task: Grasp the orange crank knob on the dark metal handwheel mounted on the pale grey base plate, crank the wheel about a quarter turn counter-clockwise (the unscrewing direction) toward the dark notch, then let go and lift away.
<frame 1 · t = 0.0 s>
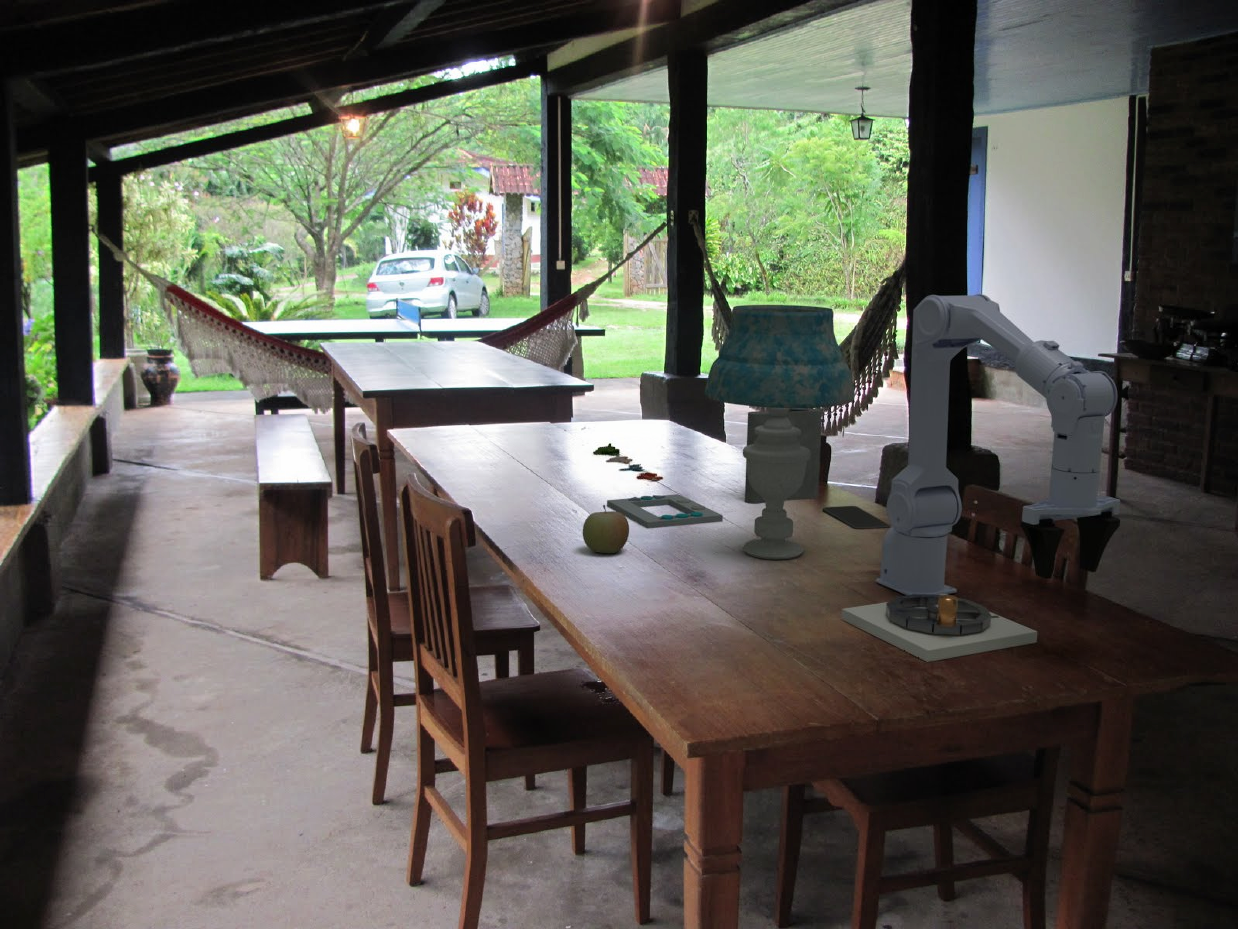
hand: (1065, 573, 157), 10 cm above the table, tool pointing down, fingers open, 7 cm apart
handwheel: (939, 601, 164), point 4 cm above the table, hinge at -30.0°
smartphone: (855, 521, 226), on the table
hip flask: (780, 500, 241), on the table
table lamp: (772, 553, 202), on the table
toy spaceship set: (625, 469, 272), on the table
picture frame: (663, 518, 228), on the table
fruit: (606, 553, 201), on the table
base plate: (936, 630, 165), on the table
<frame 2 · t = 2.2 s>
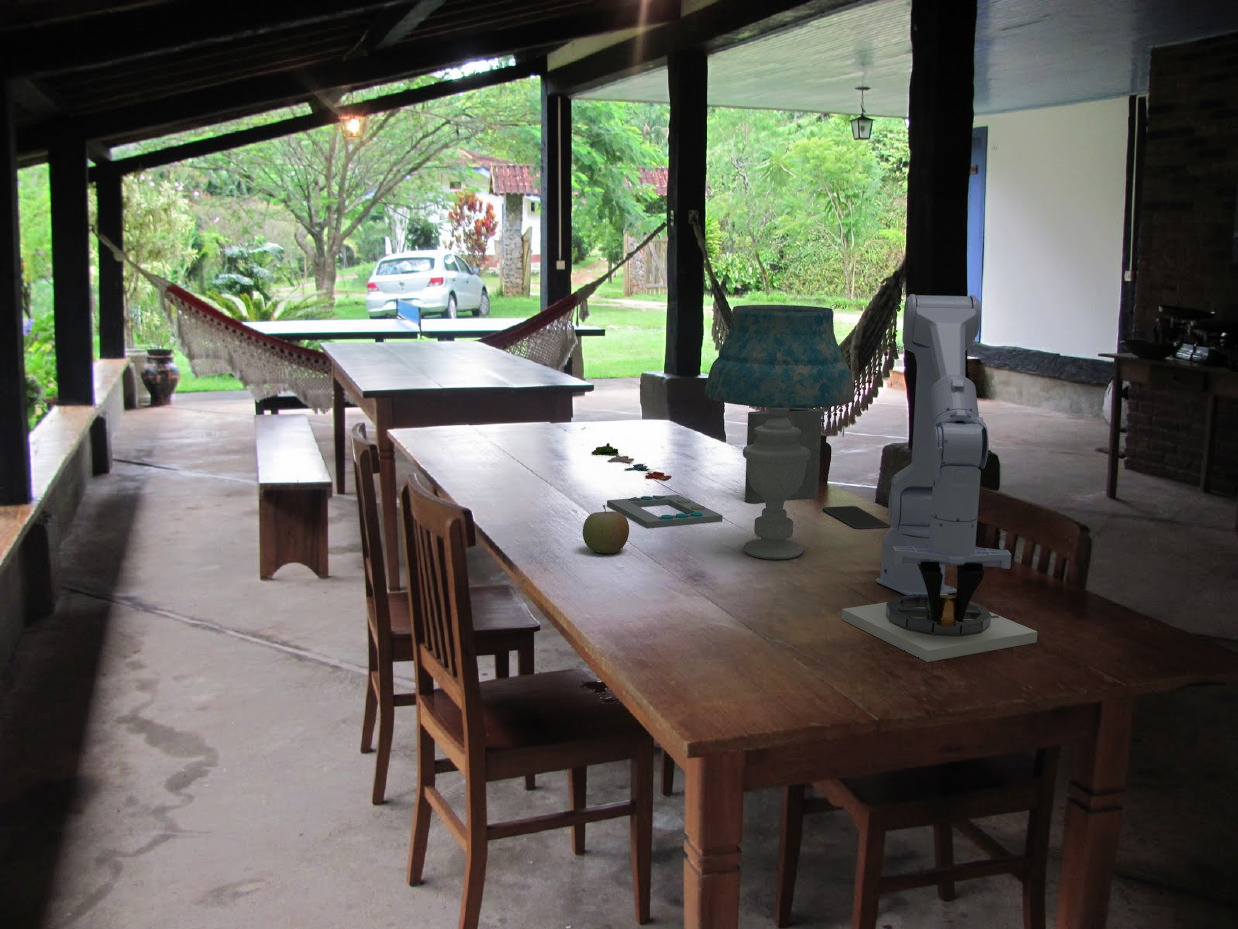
hand: (946, 619, 158), 4 cm above the table, tool pointing down, fingers closed on handwheel, 2 cm apart
handwheel: (939, 601, 164), point 4 cm above the table, hinge at -30.0°, touching gripper
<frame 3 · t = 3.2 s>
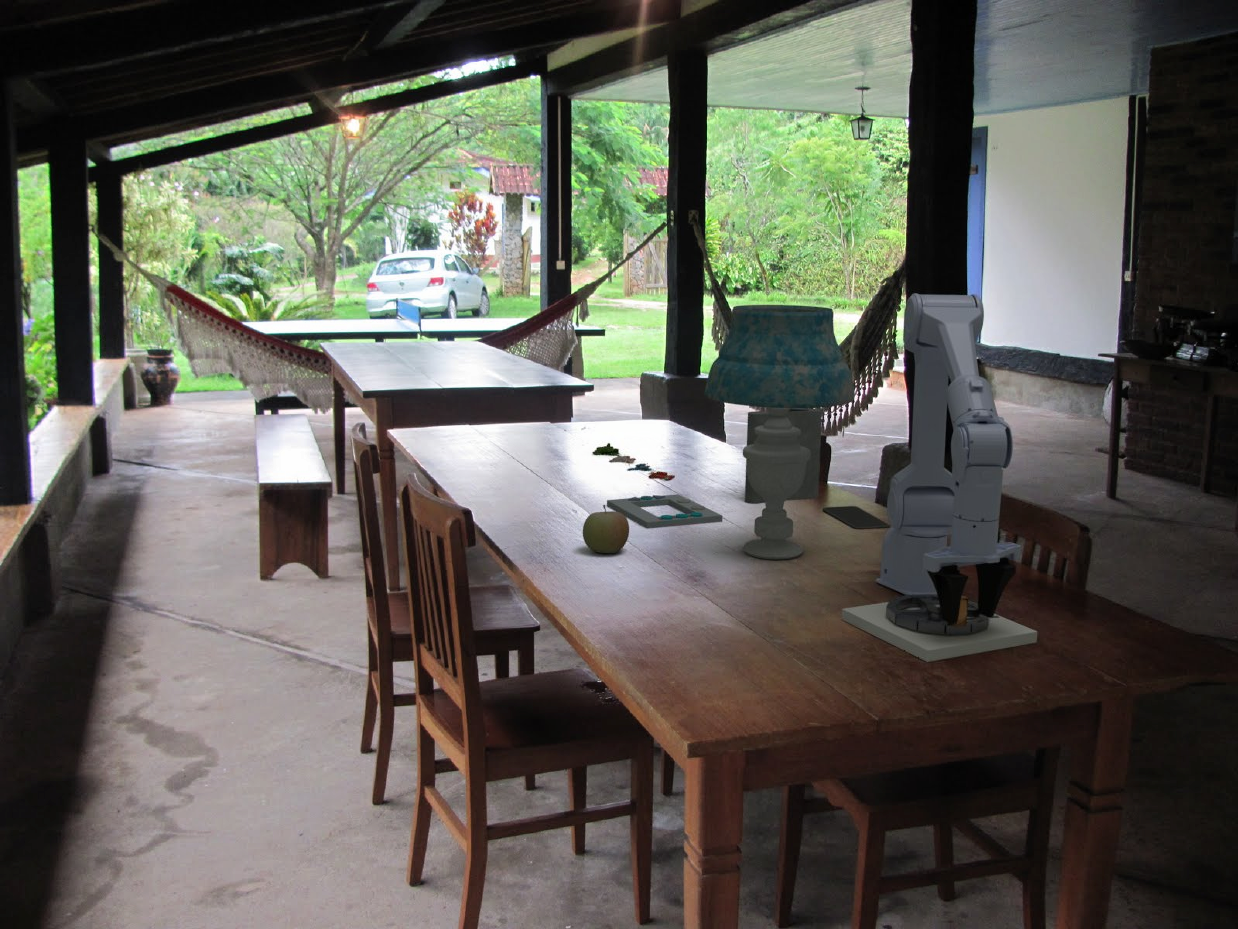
hand: (967, 618, 159), 4 cm above the table, tool pointing down, fingers open, 6 cm apart
handwheel: (939, 601, 164), point 4 cm above the table, hinge at -17.0°, touching gripper
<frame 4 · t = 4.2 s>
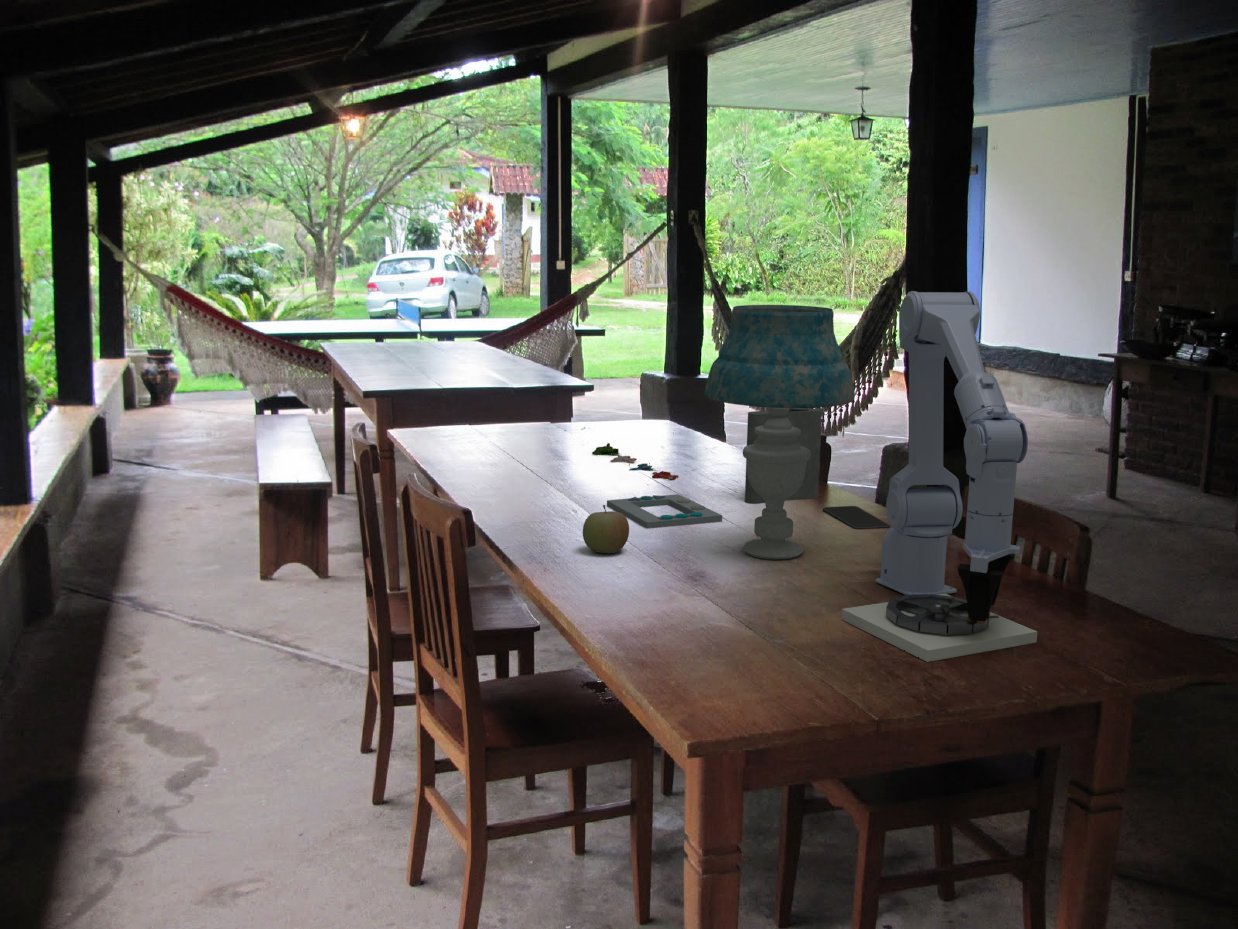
hand: (982, 611, 162), 4 cm above the table, tool pointing down, fingers open, 7 cm apart
handwheel: (940, 601, 164), point 4 cm above the table, hinge at 15.2°, touching gripper
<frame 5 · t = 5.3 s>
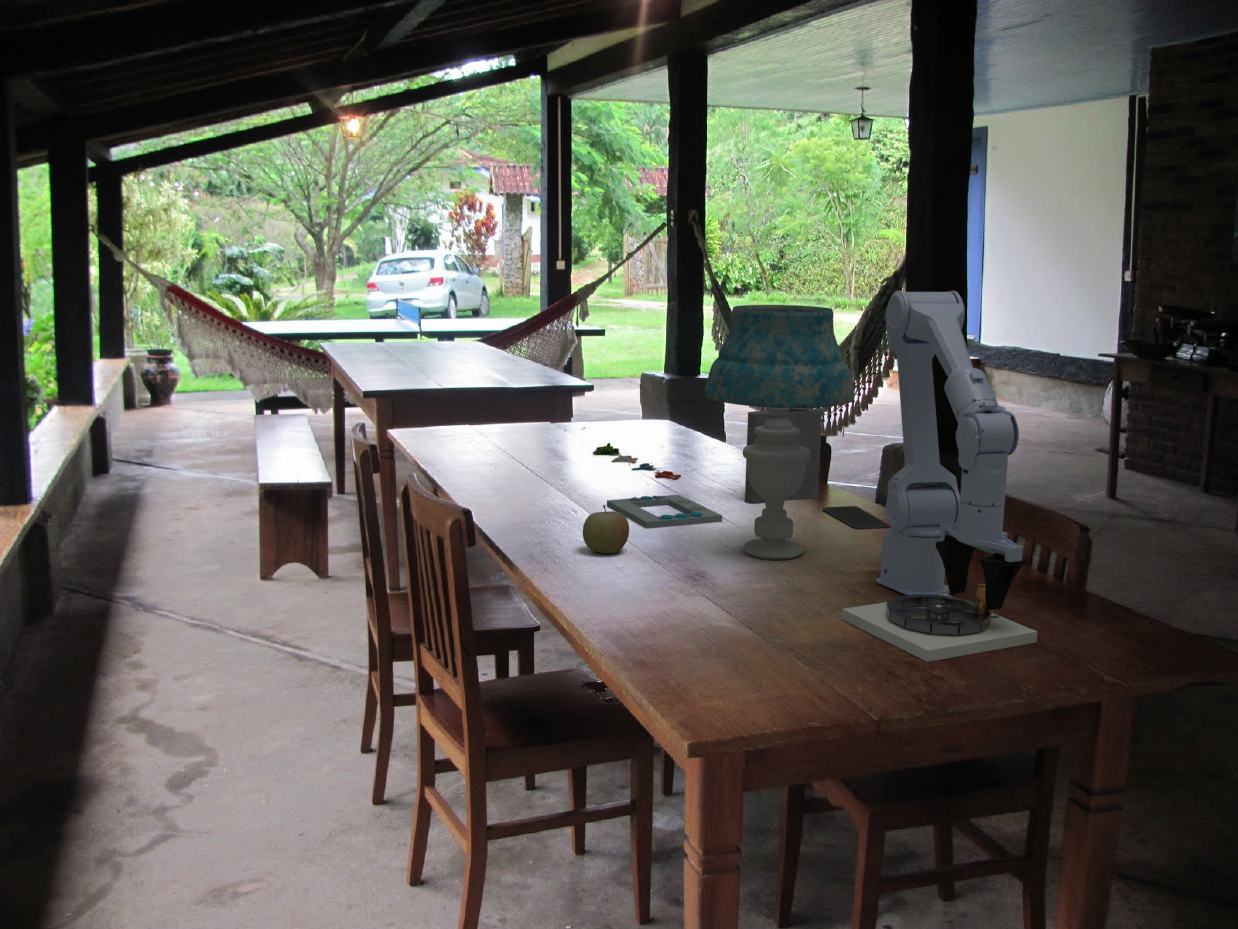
hand: (975, 600, 166), 4 cm above the table, tool pointing down, fingers open, 7 cm apart
handwheel: (940, 601, 164), point 4 cm above the table, hinge at 58.1°, touching gripper
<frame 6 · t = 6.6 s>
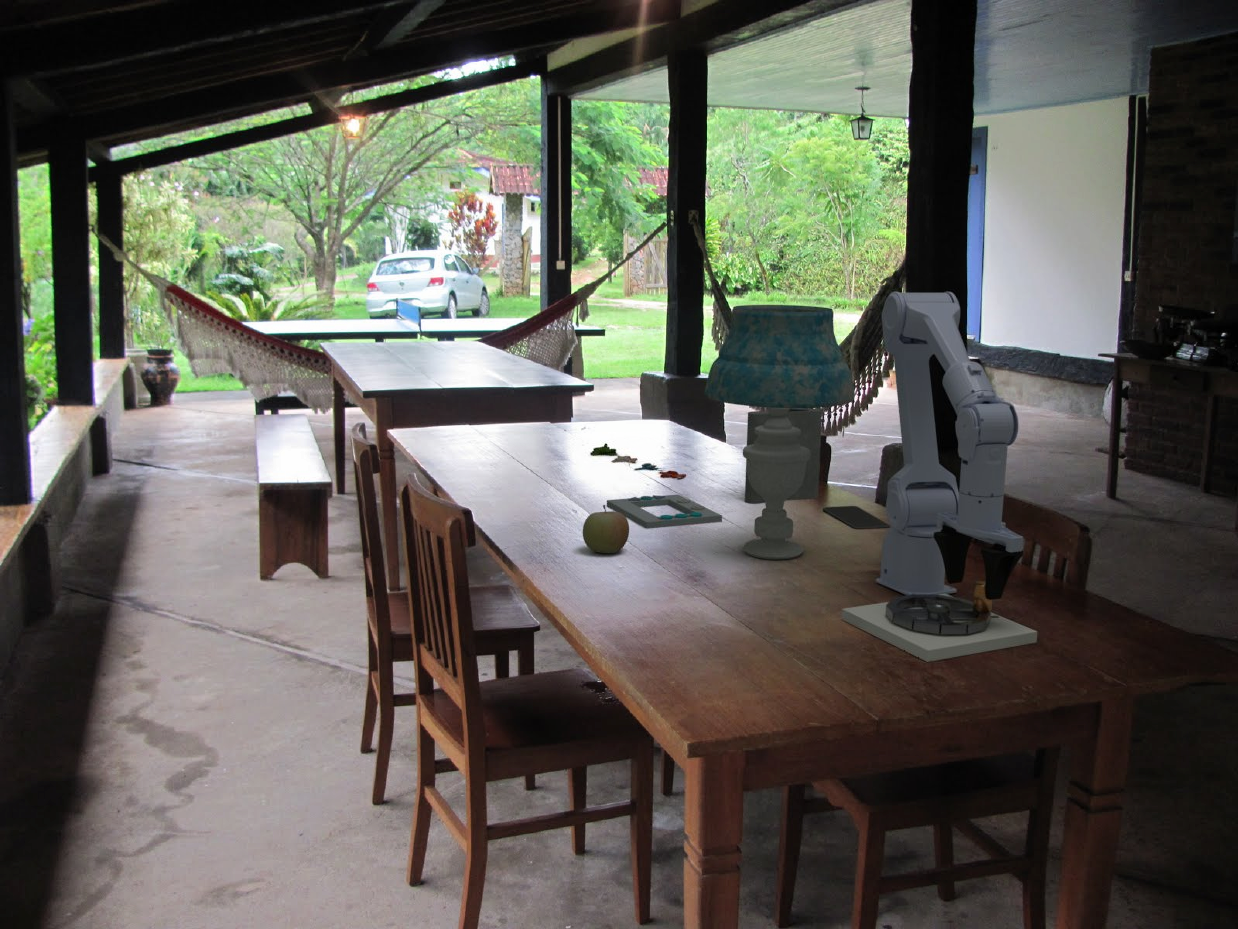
hand: (973, 590, 167), 5 cm above the table, tool pointing down, fingers open, 7 cm apart
handwheel: (940, 601, 164), point 4 cm above the table, hinge at 67.6°
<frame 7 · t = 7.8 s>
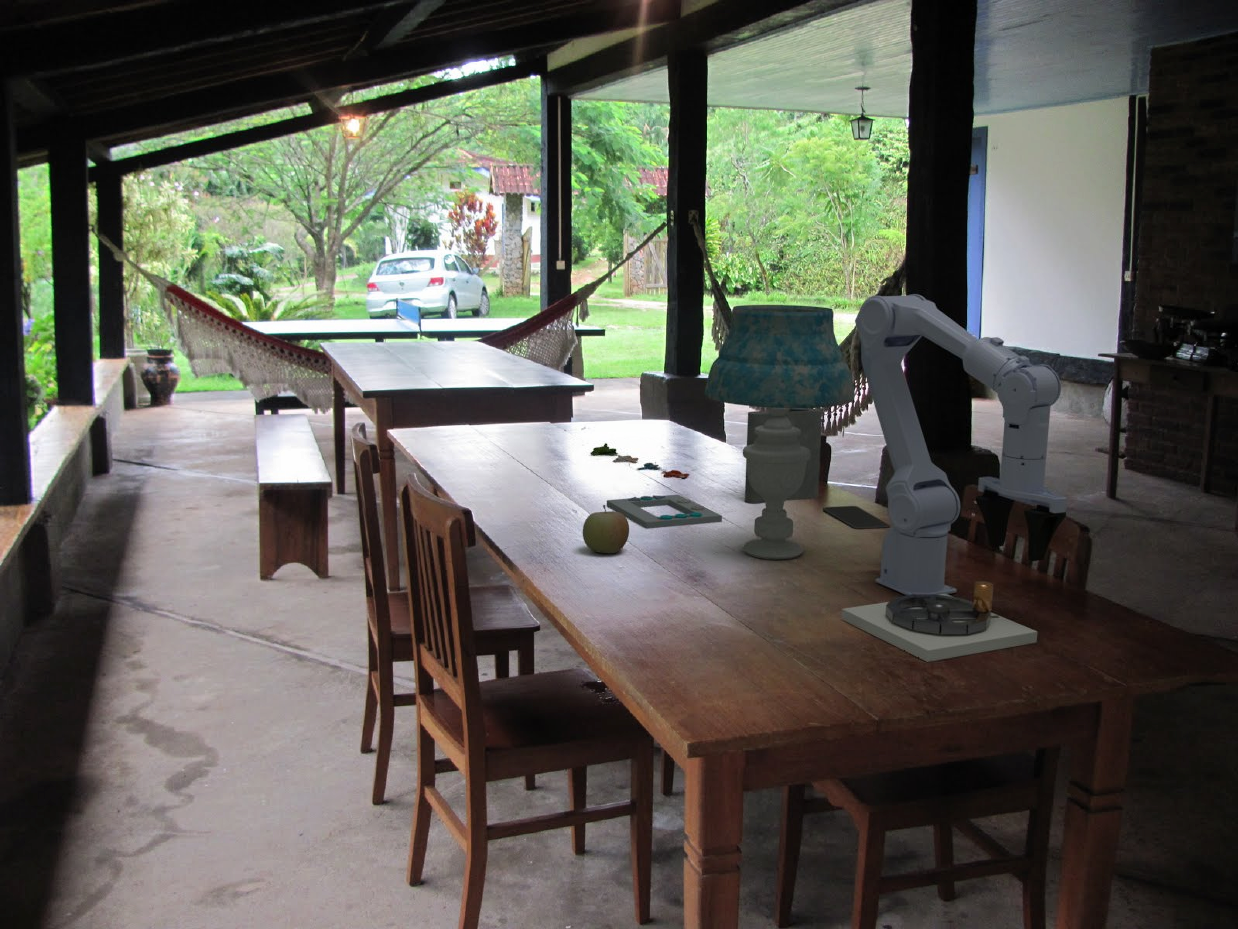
hand: (1016, 552, 169), 9 cm above the table, tool pointing down, fingers open, 7 cm apart
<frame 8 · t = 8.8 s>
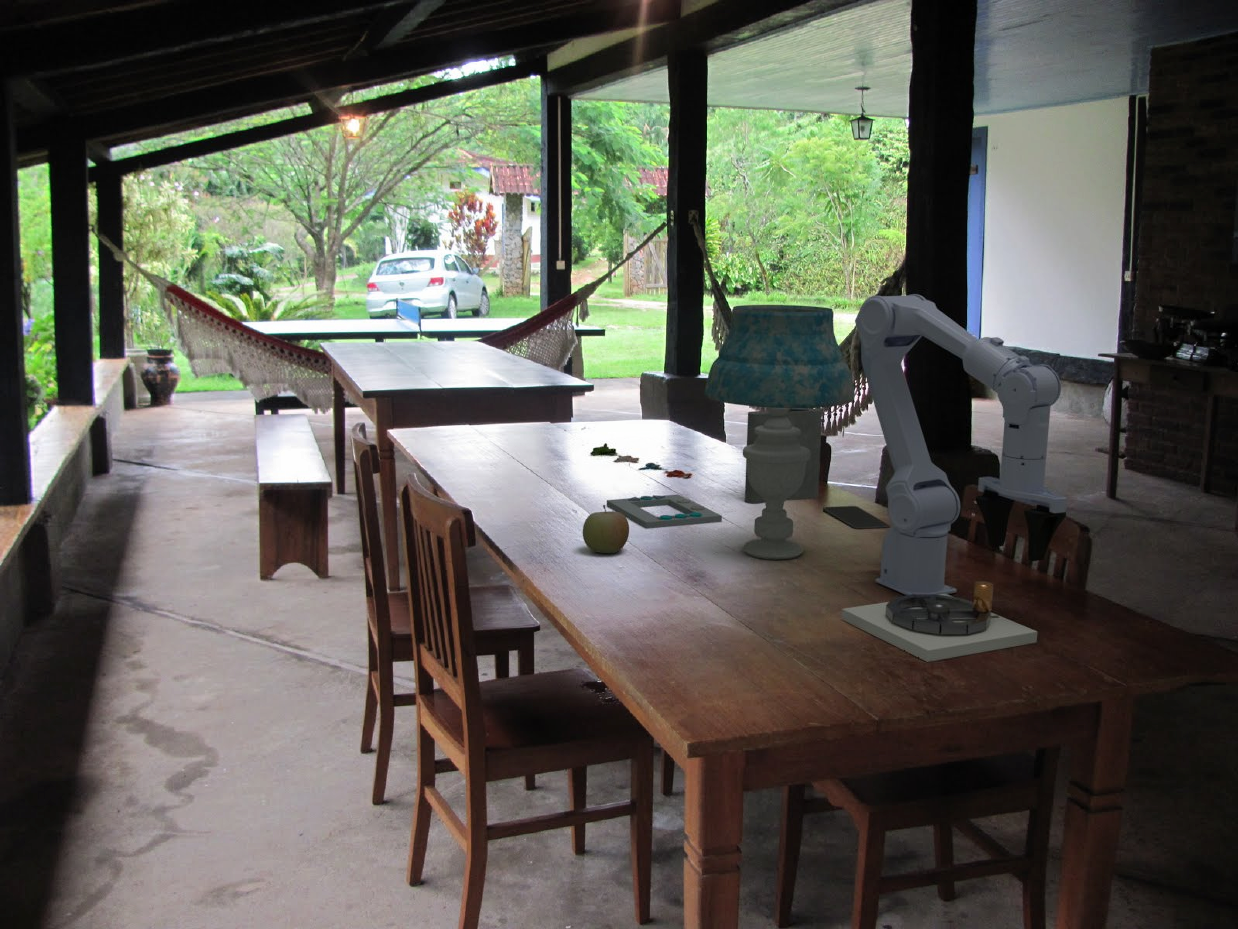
hand: (1016, 552, 169), 9 cm above the table, tool pointing down, fingers open, 7 cm apart
at the end: handwheel at +68° (first picture: -30°); the gripper is holding nothing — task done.
